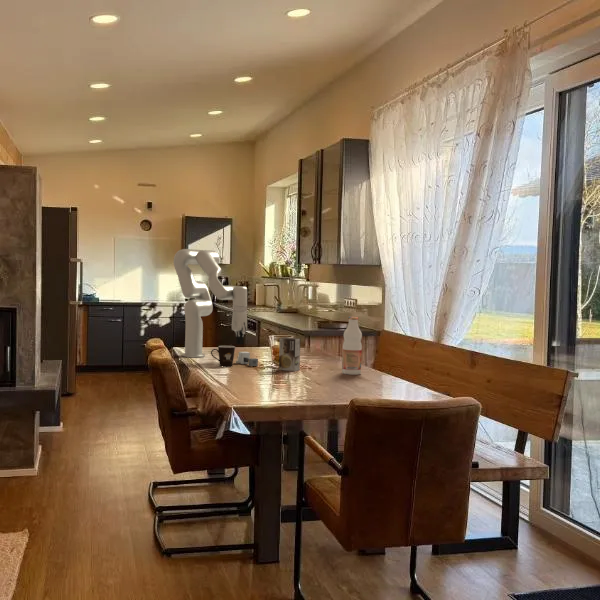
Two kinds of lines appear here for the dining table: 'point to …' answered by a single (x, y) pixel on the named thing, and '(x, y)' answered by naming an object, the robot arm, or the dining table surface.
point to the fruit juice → (352, 348)
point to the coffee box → (289, 354)
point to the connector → (253, 362)
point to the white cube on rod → (242, 356)
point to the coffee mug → (225, 355)
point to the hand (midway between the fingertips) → (239, 343)
